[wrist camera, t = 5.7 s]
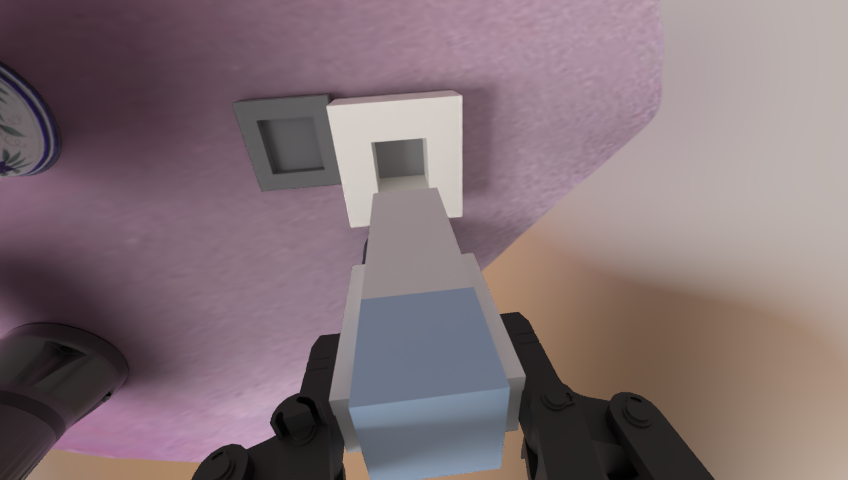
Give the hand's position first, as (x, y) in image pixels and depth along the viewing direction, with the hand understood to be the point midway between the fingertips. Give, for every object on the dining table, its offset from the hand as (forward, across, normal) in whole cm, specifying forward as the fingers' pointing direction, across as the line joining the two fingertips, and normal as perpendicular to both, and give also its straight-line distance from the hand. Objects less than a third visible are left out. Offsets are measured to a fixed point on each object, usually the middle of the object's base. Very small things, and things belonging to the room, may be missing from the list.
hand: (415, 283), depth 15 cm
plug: (+7, 0, 0) cm, 7 cm away
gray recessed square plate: (+24, -11, +2) cm, 27 cm away
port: (+25, 0, 0) cm, 25 cm away
